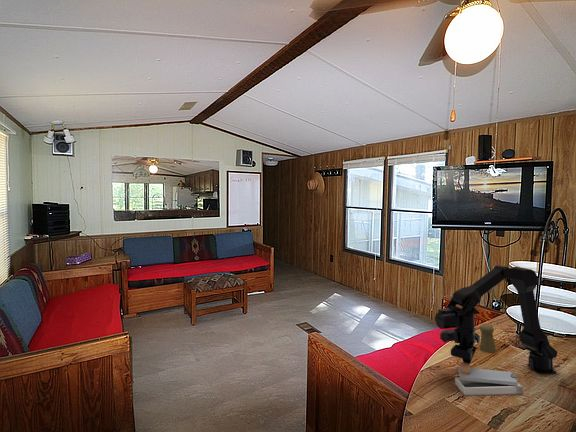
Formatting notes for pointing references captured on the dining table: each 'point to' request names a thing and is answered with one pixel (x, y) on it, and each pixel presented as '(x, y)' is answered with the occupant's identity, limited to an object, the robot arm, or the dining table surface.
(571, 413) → the dining table surface
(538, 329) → the robot arm
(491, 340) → the olive brown bulbous cylinder
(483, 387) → the white tray with rod
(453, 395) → the dining table surface
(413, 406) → the dining table surface
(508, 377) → the cover
